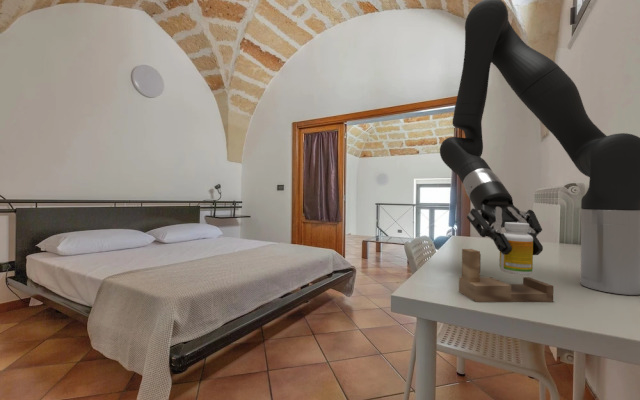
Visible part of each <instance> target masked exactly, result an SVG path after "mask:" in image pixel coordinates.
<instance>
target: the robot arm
mask: <svg viewBox="0 0 640 400" xmlns="http://www.w3.org/2000/svg"><path fill="white" fill-rule="evenodd" d="M464 22H465V24H464V31H465V33H464V34H465V35H464V54H463V63H462V70H461V77H460V82H459V87H458V91H457V97H456V100H455V106H454V112H453V117H452V125H453V126H452V127H454V128H456V129H459V130H461V131H462V132H463V134H464V137H457V136H452V137H447V138H445V139H444V140H443V141H442V142H441V144H440V147H439V155H440V158H441V160H442V161H443V163H444V164H445V165H446V166H447V167H448V168H449V169H450V170H451V171H452V172H453V173H455V174H456V175H457V176H458V179H460V181H461V183H462V186H463V187H464V190H465V193H466V195H467V196H468V198H469V199H468V200H469V201H470V202H471V204H472V206H473V208H471V210H470V211H469V213H468V214H467V216H466V218H467V220H468V221H469V223H470V224H471V225H472V227H473V228H474V229H475V230H476V232H477V233H478V234H479V235H480V237H481V238H486V237H487V238H489V239H491V241H493V243H494V244H495V247H496V248H497V250H498V251H499V253H500V252H502V254H503V255H508V254H509V253H510V252H511V250H512V247H511V245H510V244H509V242H508V240H507V239H506V237H505V235H504V234H502V233H503V232H502V228H504V227H505V222H515V223H527V224H529V231H528V234H529V235H531V236H532V237H533V256H538V255H540V254H541V253H542V252H543V249H544V247H543V245H542V243H541V242H540V240H539V239H538V238H537V236H538V235H539V234H540V233H541V232H542V231H543V228H542V226H541V224H540V221H539V220H538V217H537V215H536V213H535V212H534V210H532V209H527V211H521V210H520V209H518V208H517V207H516V206H515V205H514V202H513V196H512V195H511V193H510V192H509V191H508V189H507V188H506V187H505V185H504V183H503V182H502V180H501V179H500V178H499V177H498V176H497V174H496V173H495V172H494V171H493V170H492V169H491V167H490V166H489V164H488V162H487V161H486V160H485V159H484V158H482V157H481V156H482V154H483V151H484V142H483V141H484V140H483V128H482V127H483V125H482V121H483V115H484V112H485V106H486V102H487V101H486V100H487V97H488V96H487V94H488V90H489V89H488V87H489V80H490V69H491V64H493V65H494V67H496V68H497V70H498V71H499V72H500V74H501V76H502V78H503V79H504V81H506V83H507V84H508V85H509V87H510V88H511V90H512V91H513V92H514V94H515V95H516V96H517V97H518V98H519V100H520V101H521V102H522V103H523V104H524V106H525V107H527V108H528V109H529V111H530V112H531V113H532V114H533V115H534V116H535V117H536V118H537V119H538V120H539V121H540V122H541V124H543V126H544V127H545V128H546V129H547V130H548V131H549V132H550V133H551V134H552V135H553V136H554V137H555V139H556V140H557V141H558V143H560V145H561V146H562V148H563V149H564V151H565V153H566V154H567V156H568V157H569V159H570V160H571V161H572V163H573V164H574V166H575V167H576V169H577V170H578V171H579V172H580V173H582V174H583V175H584V176H586V177H587V178H589V182H588V183H589V184H588V188H587V191H586V193H585V194H584V195H583V196H582V197H581V201H580V209H581V210H580V223H581V224H580V285H582V286H584V287H585V288H589V289H592V290H596V291H601V292H604V293H605V292H606V293H610V294H616V295H617V294H618V295H624V296H625V295H626V296H628V295H629V296H638V295H640V137H639V136H638V135H635V134H631V133H627V132H626V133H625V132H623V133H622V132H621V133H619V132H618V133H613V134H610V135H607V134H605V133H604V132H603V131H602V130H601V129H600V128H599V127H598V126H597V125H596V124H595V123H594V122H593V121H592V119H591V118H590V117H589V115H588V113H587V111H586V109H585V106H584V103H583V101H582V98H581V94H580V91H579V89H578V87H577V85H576V83H575V82H574V81H573V79H572V78H571V77H570V76H569V75H568V74H567V73H566V71H564V70H563V69H562V68H561V66H560V65H558V64H557V63H556V62H555V61H554V60H552V59H551V58H549V57H548V56H546V55H544V54H543V53H541V52H539V51H537V50H536V49H534V48H532V47H531V46H529V45H528V44H527V43H525V41H524V40H523V39H522V38H521V37H520V36H519V34H518V33H517V32H516V31H515V29H514V28H513V26H512V24H511V23H510V21H509V11H508V8H507V6H506V4H505V3H504V1H502V0H480V1H479V2H478V3H476V4H475V5H474V6H473V7H472V8H471V9H470V11H469V13H468V14H467V17H466V19H465V21H464Z"/></svg>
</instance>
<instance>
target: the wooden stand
mask: <svg viewBox="0 0 640 400" xmlns="http://www.w3.org/2000/svg"><path fill="white" fill-rule="evenodd" d="M481 259H482V258H481V251H480V250H475V249H473V248H462V249H461V276H459V277H458V279H459V281H458V292H459V293H460V294H462V295H463V296H466V297H467V298H469V299H470V300H471V301H474V302H475V303H481V302H482V303H492V302H493V303H496V302H497V303H501V302H502V303H506V302H507V303H518V302H519V303H525V302H527V303H529V302H530V303H534V302H536V303H539V302H540V303H545V302H546V303H553V302H554V285H551V284H549V283H547V282H543V281H540V280H538V279H535V278H533V277H529V276H528V277H522V281H523V282H522V283H521V284H516V283H515V284H508V283H505V282H504V281H501V280H499V279H496V278H494V277H491V276H490V277H489V276H488V277H487V276H484V277H483V276H482V277H481Z"/></svg>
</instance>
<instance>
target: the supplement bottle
mask: <svg viewBox="0 0 640 400" xmlns="http://www.w3.org/2000/svg"><path fill="white" fill-rule="evenodd" d="M503 228H504V230H505V232H501V234H504V235H505V237H506V239H507V240H508V242H509V244H510V245H511V247H512V250H511V252H510V253H509V254H508V255H503V254H502V252H500V251H499V270H500V271H501V272H504V273H508V274H513V275H517V276H518V275H519V276H523V275H524V276H529V275H532V274H533V269H534V267H533V265H534V264H533V261H534V255H533V237H532V236H531V235H529V234H528V231H529V224H527V223H518V222H517V223H515V222H505V227H503Z"/></svg>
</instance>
